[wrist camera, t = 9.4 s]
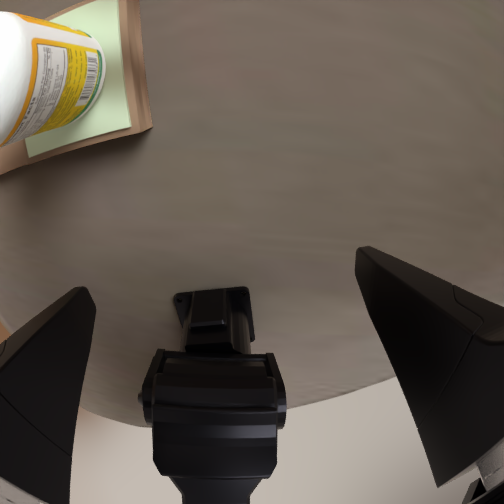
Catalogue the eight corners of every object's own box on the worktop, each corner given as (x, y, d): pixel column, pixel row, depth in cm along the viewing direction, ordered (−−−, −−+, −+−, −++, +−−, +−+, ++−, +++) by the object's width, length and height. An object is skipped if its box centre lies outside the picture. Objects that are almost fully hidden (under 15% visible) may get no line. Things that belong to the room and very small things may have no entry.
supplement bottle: (125, 86, 14) (-13, 98, 4) (51, 144, 15) (-80, 220, 5) (85, 11, 11) (-46, -28, 1) (15, 74, 12) (-117, 102, 2)
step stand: (152, 126, 18) (139, 133, 15) (-5, 175, 18) (-28, 188, 15) (138, -2, 13) (124, -16, 10) (-21, 74, 13) (-45, 77, 10)
